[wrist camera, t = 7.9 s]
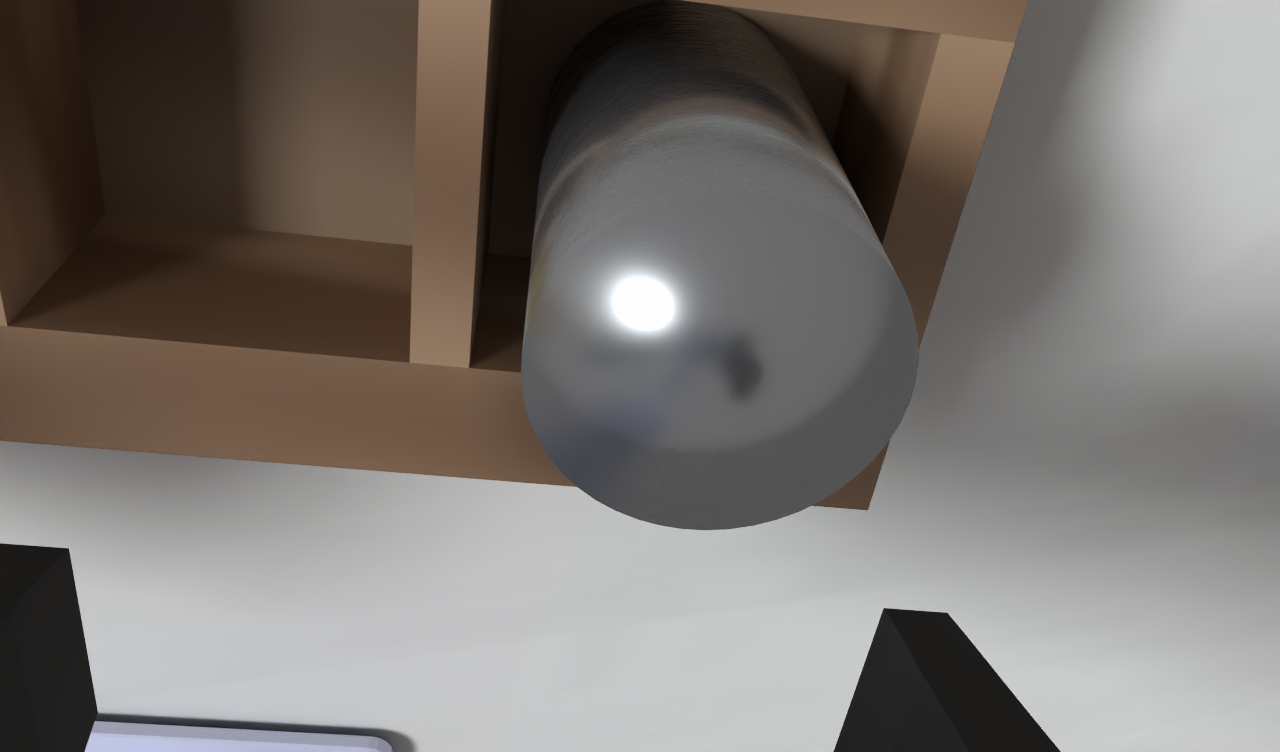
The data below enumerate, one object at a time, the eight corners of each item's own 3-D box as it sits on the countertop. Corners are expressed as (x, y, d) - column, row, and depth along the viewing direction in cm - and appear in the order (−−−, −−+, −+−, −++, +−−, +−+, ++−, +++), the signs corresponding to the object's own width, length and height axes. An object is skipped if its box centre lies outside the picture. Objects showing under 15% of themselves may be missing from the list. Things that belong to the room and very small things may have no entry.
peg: (788, 251, 18) (883, 531, 12) (544, 246, 18) (524, 528, 12) (819, 3, 16) (954, 198, 10) (543, -7, 16) (516, 188, 10)
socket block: (821, 368, 20) (867, 509, 17) (75, 298, 19) (-37, 437, 15) (964, -177, 15) (1070, -134, 12) (-24, -324, 14) (-221, -322, 11)
